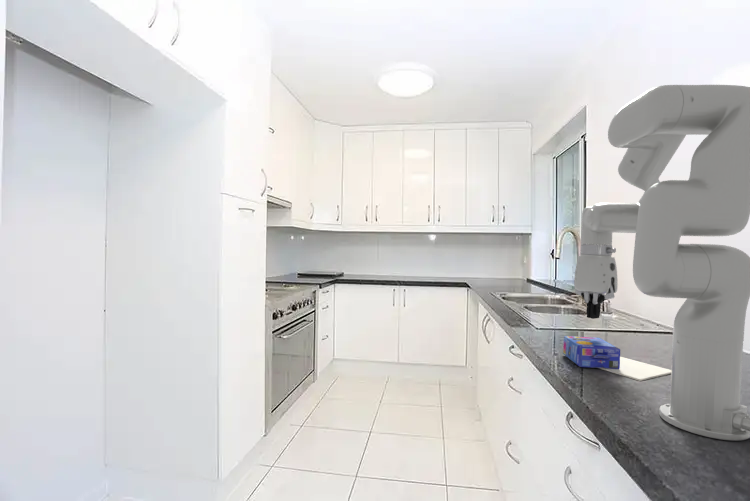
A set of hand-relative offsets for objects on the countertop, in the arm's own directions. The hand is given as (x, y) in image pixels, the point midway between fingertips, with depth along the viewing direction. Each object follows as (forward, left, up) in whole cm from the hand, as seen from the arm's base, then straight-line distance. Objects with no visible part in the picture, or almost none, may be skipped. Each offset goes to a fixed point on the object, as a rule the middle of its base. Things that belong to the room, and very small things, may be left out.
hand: (593, 317), depth 112 cm
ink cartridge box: (+2, +2, -8) cm, 8 cm away
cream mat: (-9, 0, -11) cm, 14 cm away
